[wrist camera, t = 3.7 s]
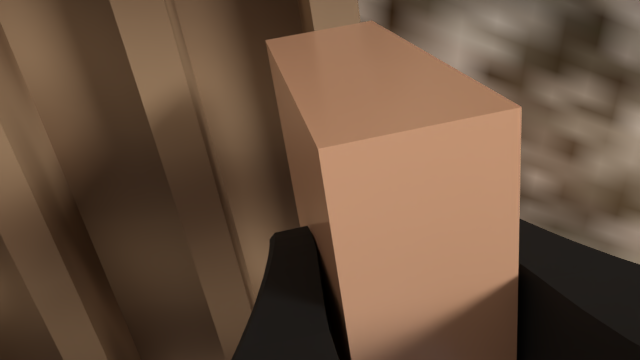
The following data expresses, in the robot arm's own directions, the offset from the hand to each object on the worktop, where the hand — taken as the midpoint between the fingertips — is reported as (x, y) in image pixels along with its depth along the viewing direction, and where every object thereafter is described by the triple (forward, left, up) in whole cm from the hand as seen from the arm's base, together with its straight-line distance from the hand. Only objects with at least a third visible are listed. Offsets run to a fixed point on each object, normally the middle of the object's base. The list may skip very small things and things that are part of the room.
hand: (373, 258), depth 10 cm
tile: (0, 0, -3) cm, 3 cm away
